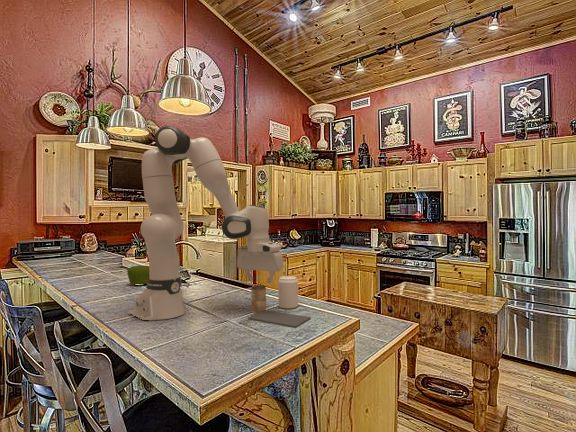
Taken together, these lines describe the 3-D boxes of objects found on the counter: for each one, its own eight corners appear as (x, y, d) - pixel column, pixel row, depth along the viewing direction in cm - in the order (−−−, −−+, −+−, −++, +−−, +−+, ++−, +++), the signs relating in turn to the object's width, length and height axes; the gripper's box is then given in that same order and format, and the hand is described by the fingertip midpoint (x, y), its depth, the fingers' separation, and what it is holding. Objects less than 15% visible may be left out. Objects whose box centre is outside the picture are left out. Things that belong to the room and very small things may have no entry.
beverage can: (302, 306, 139) (301, 277, 139) (289, 310, 133) (288, 280, 133) (288, 303, 145) (287, 275, 145) (274, 307, 139) (274, 277, 139)
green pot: (123, 287, 183) (122, 266, 183) (136, 282, 195) (136, 262, 195) (144, 287, 181) (143, 266, 181) (156, 282, 193) (156, 263, 193)
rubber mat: (248, 319, 123) (248, 317, 123) (265, 311, 133) (265, 309, 133) (295, 328, 113) (295, 326, 113) (310, 318, 122) (310, 317, 122)
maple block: (251, 312, 132) (251, 286, 132) (257, 309, 135) (257, 284, 135) (260, 313, 130) (259, 287, 130) (266, 311, 133) (265, 285, 133)
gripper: (232, 246, 135) (234, 281, 135) (275, 247, 124) (277, 285, 125) (242, 245, 140) (244, 278, 140) (284, 245, 130) (286, 281, 130)
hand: (260, 281), depth 132 cm, fingers open, 8 cm apart
